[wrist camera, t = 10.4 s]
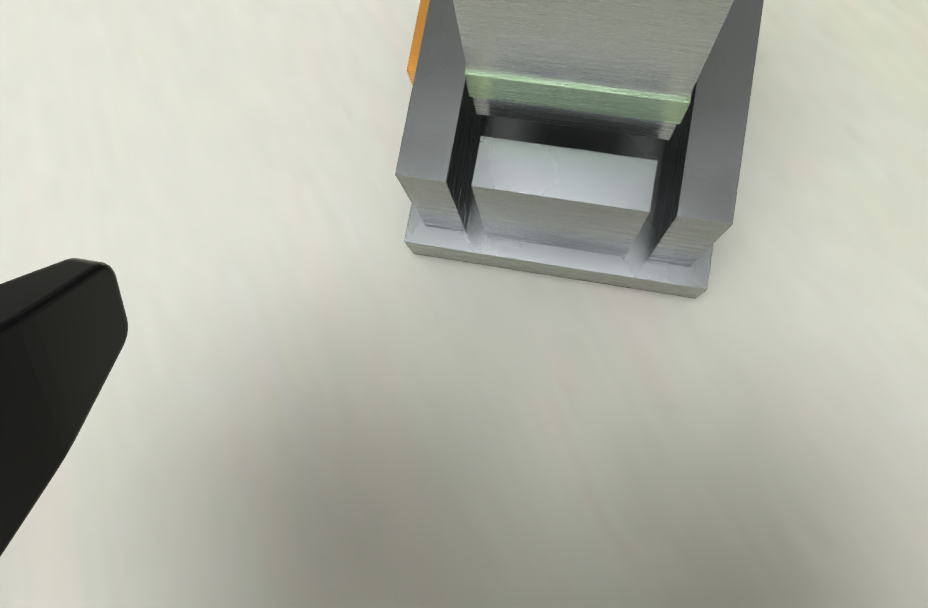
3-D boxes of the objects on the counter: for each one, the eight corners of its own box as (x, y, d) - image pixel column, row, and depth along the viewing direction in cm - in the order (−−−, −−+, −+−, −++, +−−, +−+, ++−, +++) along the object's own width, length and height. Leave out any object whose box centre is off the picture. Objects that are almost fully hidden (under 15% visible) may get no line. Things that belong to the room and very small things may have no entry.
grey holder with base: (695, 298, 21) (754, 252, 15) (413, 253, 22) (368, 193, 16) (734, 28, 22) (803, -112, 17) (463, -5, 23) (436, -147, 17)
